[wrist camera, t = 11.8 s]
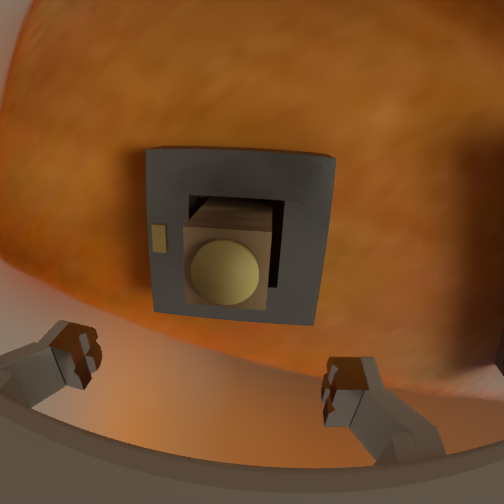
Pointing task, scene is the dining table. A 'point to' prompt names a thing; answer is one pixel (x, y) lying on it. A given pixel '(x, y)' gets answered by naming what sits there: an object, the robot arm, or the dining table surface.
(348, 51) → the dining table surface
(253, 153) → the grey square socket base
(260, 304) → the brown block with knob
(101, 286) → the dining table surface
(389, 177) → the dining table surface
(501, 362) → the tissue box cover
